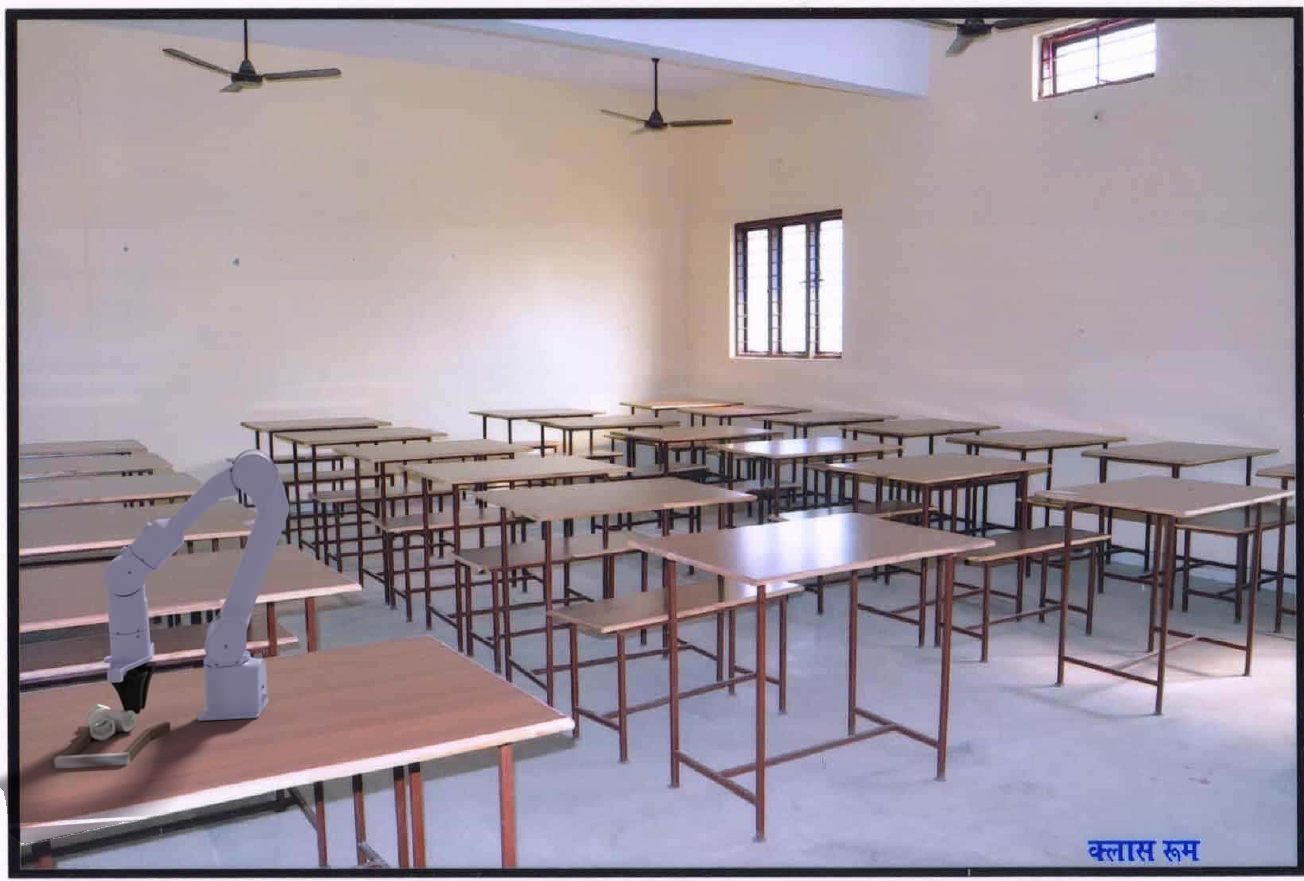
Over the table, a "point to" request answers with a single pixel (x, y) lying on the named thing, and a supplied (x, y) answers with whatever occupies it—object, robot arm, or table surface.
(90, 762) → the angular open frame
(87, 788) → the table surface
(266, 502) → the robot arm
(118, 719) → the pipe fitting
